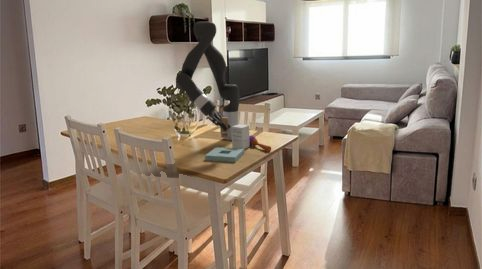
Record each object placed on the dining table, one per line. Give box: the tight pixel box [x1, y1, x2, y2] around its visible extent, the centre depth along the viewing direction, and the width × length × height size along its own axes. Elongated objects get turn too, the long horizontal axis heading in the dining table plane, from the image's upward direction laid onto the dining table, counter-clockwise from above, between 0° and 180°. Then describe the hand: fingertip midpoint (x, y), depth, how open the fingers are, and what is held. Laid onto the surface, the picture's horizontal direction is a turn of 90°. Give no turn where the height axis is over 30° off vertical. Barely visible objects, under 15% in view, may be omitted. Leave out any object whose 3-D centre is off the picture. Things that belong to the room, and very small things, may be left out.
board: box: [204, 147, 245, 163], centre depth 201 cm, size 16×16×2 cm
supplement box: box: [231, 123, 251, 150], centre depth 217 cm, size 7×7×13 cm
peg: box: [219, 117, 228, 139], centre depth 198 cm, size 4×4×10 cm
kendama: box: [249, 135, 272, 153], centre depth 217 cm, size 6×6×20 cm
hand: (227, 128), depth 198 cm, fingers closed on peg, 4 cm apart
